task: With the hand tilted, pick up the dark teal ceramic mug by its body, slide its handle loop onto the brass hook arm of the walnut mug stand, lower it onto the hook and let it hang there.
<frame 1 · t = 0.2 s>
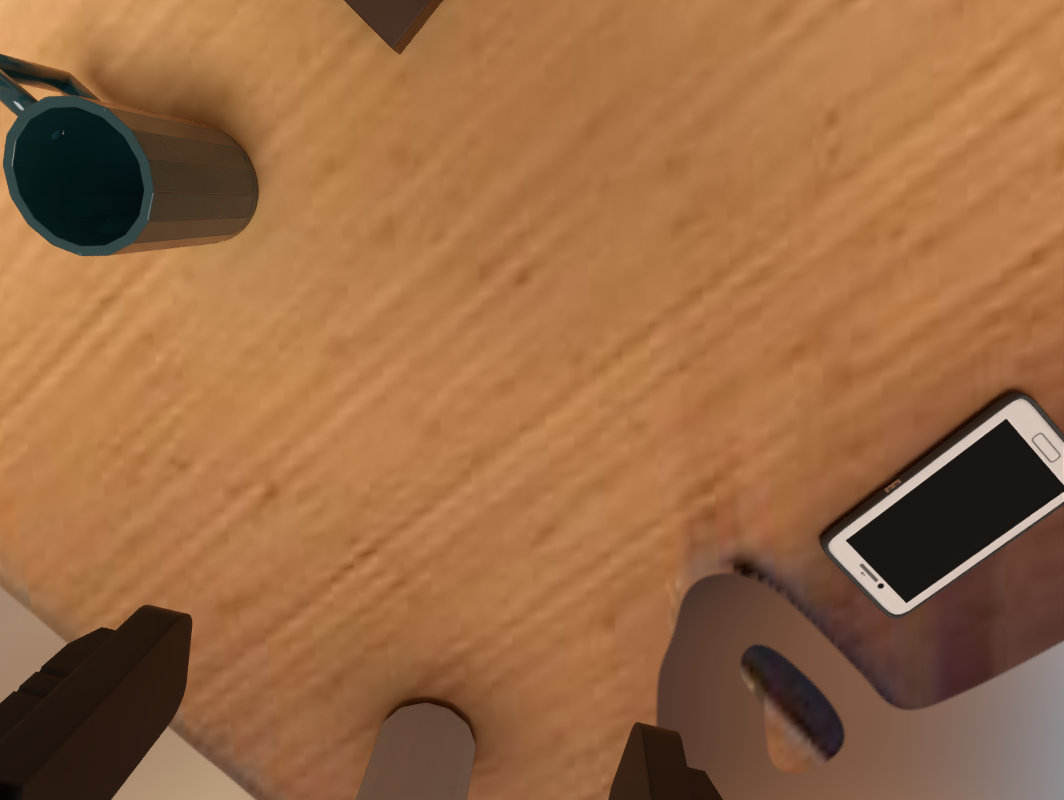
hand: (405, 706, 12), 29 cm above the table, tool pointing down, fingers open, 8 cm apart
mug: (202, 184, 38), on the table
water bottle: (440, 739, 48), on the table
cell phone: (945, 505, 41), on the table
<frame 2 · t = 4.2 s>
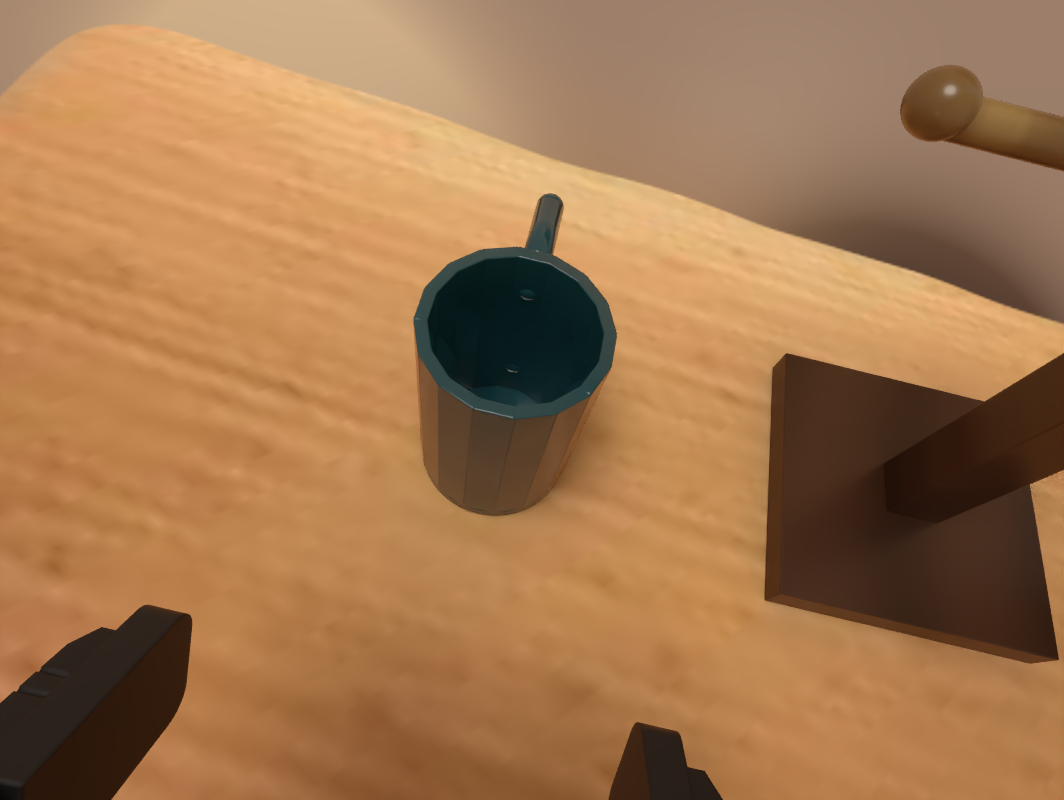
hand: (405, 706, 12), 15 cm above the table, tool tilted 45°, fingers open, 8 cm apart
mug: (494, 446, 30), on the table
mug stand: (890, 502, 31), on the table
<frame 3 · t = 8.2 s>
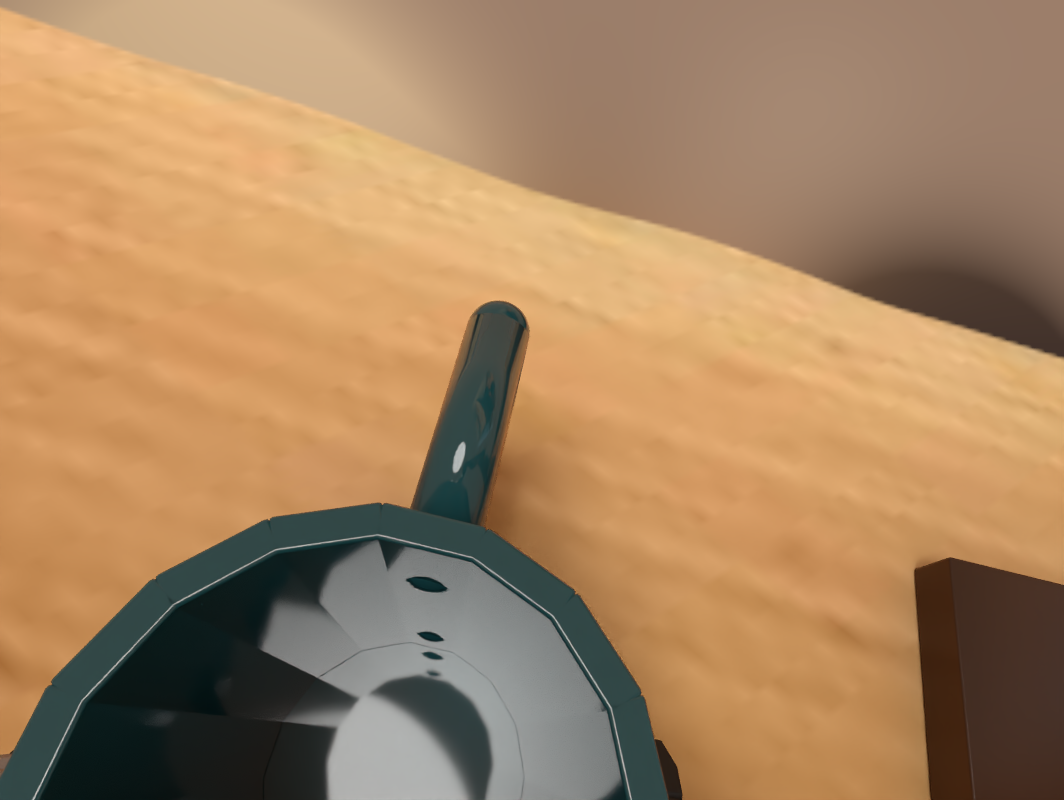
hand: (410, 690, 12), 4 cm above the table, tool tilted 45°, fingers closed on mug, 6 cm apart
mug: (398, 776, 15), on the table, touching gripper
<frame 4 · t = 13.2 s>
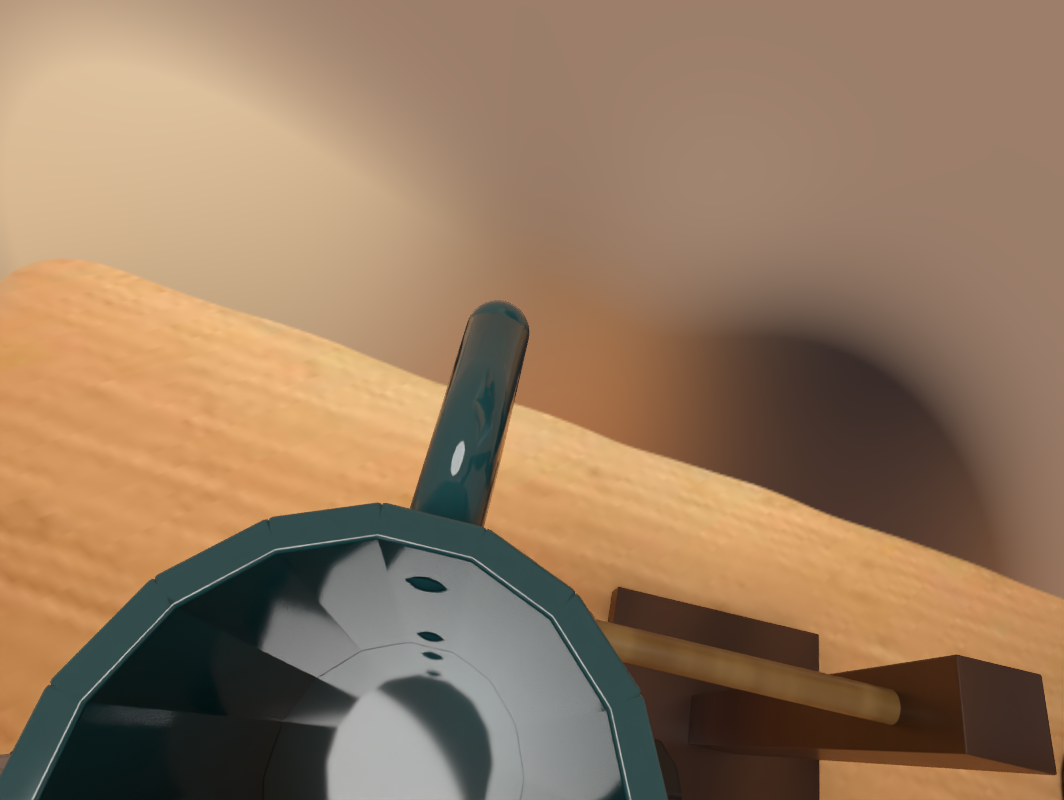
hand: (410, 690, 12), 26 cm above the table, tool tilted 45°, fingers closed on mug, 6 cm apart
mug: (397, 776, 15), point 21 cm above the table, touching gripper
mug stand: (701, 724, 36), on the table
when the fingers open (16 cm above the table, at t = 18.2 s): mug stays where it is, resting on mug stand.
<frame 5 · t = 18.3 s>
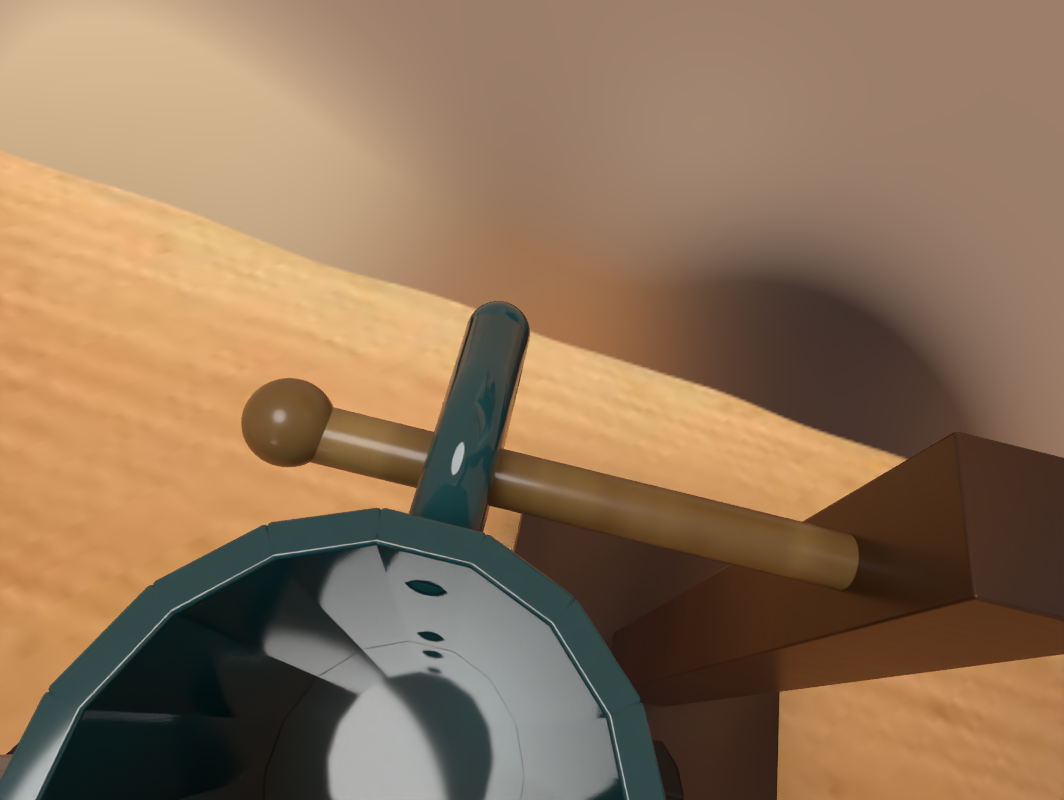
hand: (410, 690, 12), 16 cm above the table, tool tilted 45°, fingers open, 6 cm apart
mug: (398, 775, 15), point 12 cm above the table, touching mug stand
mug stand: (629, 672, 28), on the table
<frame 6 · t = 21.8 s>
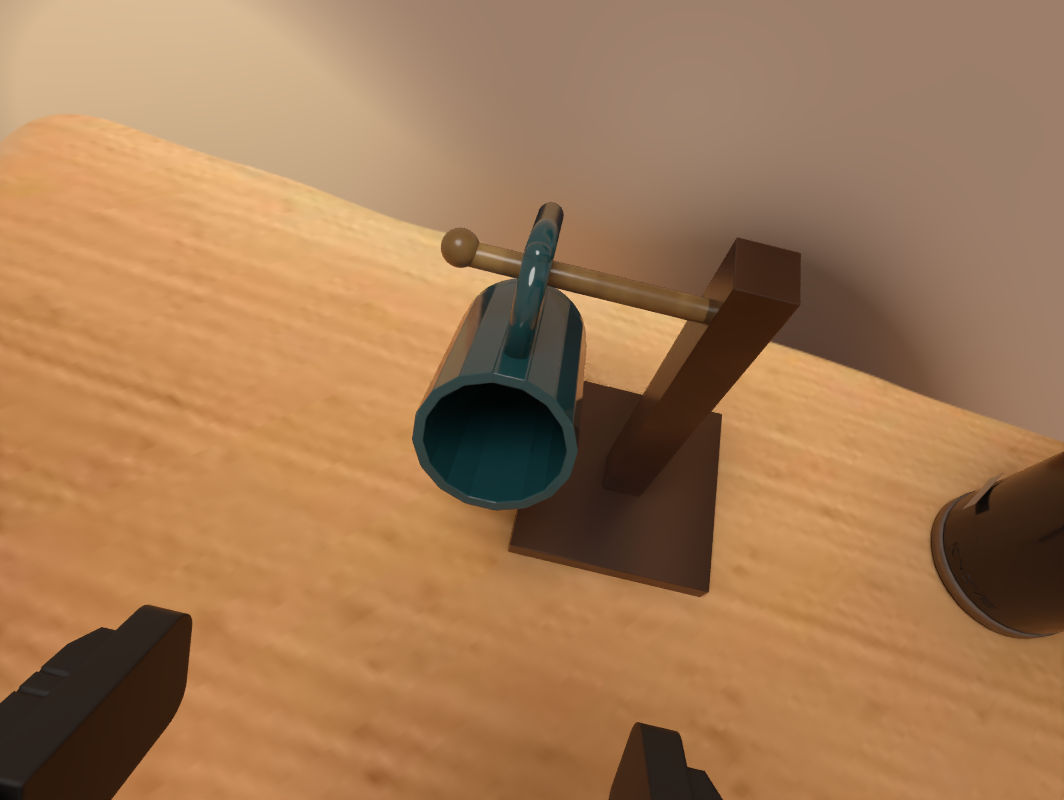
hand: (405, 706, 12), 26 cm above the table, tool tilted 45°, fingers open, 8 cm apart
mug: (523, 337, 34), point 10 cm above the table, tilted 59°, touching mug stand
mug stand: (617, 483, 42), on the table
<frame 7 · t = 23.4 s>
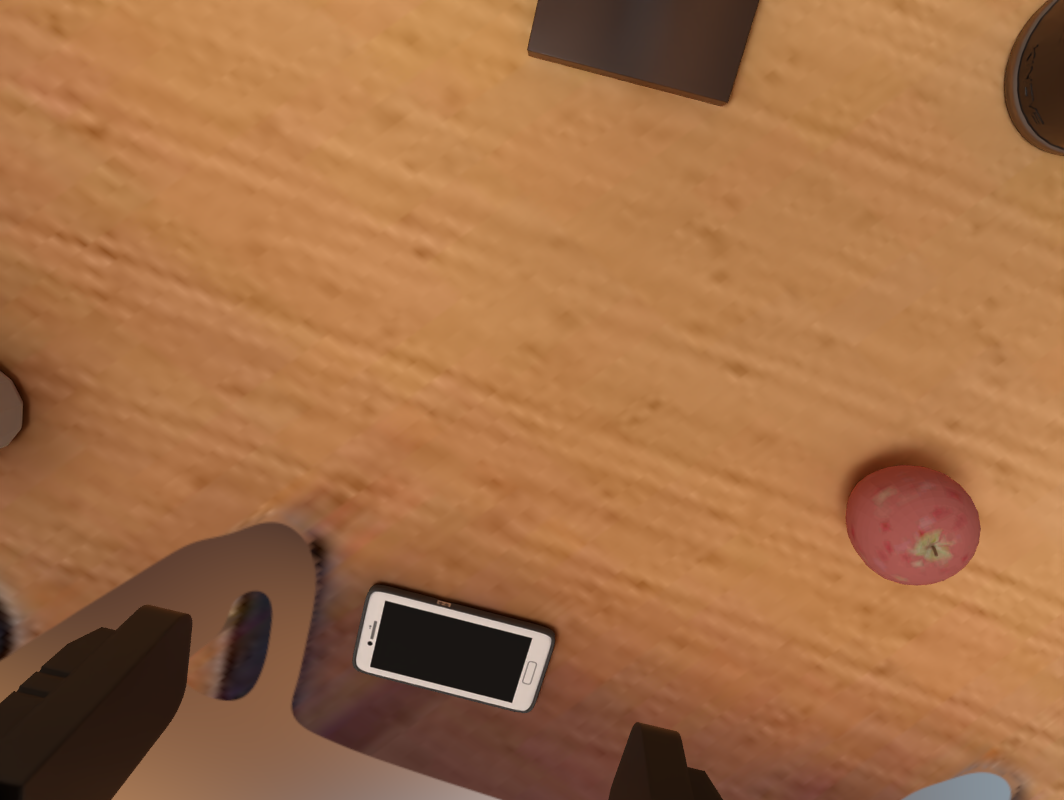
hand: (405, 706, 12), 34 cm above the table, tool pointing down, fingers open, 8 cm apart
apple: (879, 497, 46), on the table
cell phone: (454, 643, 51), on the table
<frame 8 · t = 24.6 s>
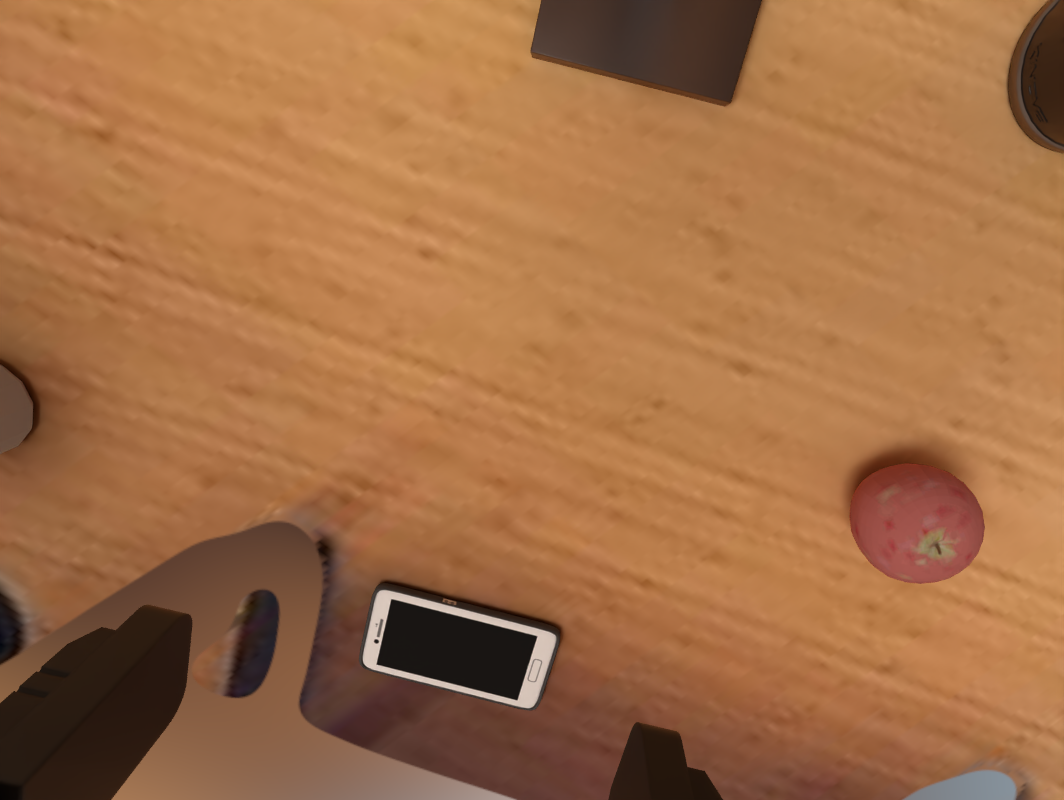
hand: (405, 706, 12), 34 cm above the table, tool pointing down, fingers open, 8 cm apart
apple: (883, 495, 46), on the table
cell phone: (460, 641, 52), on the table
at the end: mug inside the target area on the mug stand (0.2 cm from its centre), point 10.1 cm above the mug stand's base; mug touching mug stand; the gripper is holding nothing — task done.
